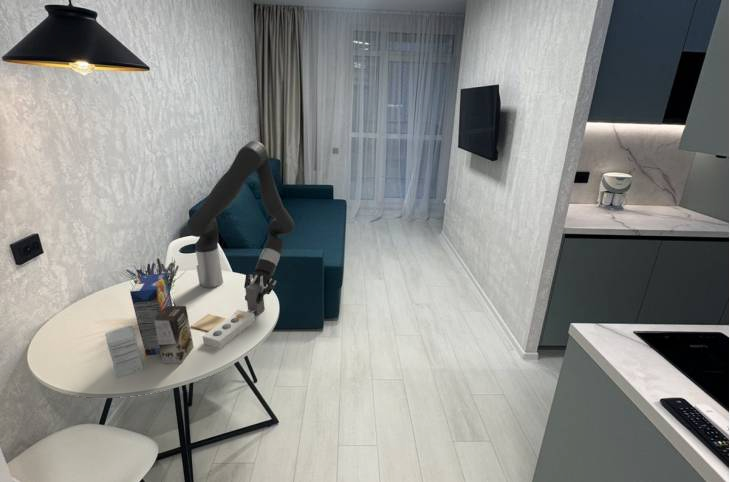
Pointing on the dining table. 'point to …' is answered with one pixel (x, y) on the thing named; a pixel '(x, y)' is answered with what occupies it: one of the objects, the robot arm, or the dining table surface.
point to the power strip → (228, 329)
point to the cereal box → (150, 307)
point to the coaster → (208, 322)
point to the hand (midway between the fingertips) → (252, 301)
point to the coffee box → (174, 334)
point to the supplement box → (124, 351)
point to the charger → (254, 299)
